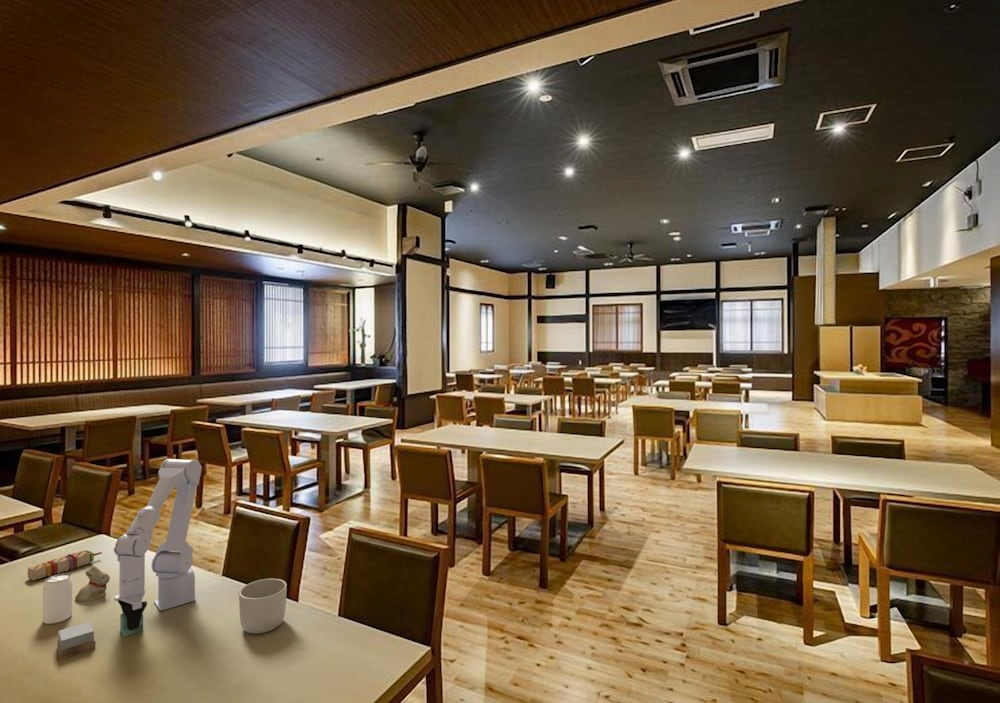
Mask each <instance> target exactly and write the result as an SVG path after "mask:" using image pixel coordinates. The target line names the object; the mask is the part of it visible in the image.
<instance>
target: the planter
mask: <svg viewBox="0 0 1000 703" xmlns="http://www.w3.org/2000/svg"><path fill="white" fill-rule="evenodd" d="M287 585H288V584H287V582H286V581H285V580H283V579H281V578H264V579H258V580H255V581H252V582H249V583H247V584H246V585H244V586H243V587H241V588H240V590H239V591H238V596H239V599H238V600H239V601H238V602H239V603H238V606H239V621H240V626H241V628H242V630H243V631H245V632H246V633H247V634H248V633H249V634H254V635H256V634H257V635H258V634H259V635H260V634H264V633H268V632H271V631H272V630H275V629H276V628H277V627H279V626H280V625H281V624H282V623H283V621H284V619H285V614H286V609H287V590H288V589H287V588H288V587H287Z"/></svg>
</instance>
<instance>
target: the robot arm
mask: <svg viewBox="0 0 1000 703" xmlns="http://www.w3.org/2000/svg"><path fill="white" fill-rule="evenodd" d="M202 468H203V466H202V465H201V462H200V461H199V460H198V459H196V458H195V459H180V458H179V459H175V458H167V459H165V460H164V461H163V462H162V463H161V465H160V468H159V470H158V471H157V474H158V478H159V480H158V481H157V483H156V485H155V488H154V490H153V492H152V493H151V494H152V495H151V497H150V498H149V501H148V503H147V505H146V506H145V507H142V508H141V509H139V511H138V512H137V513H136V516H135V518H134V519H133V521H132V522H131V524H130V526H129V528H128V530H127V531H126V533H124V534H123V535H121V536H119V537H118V539H117V540H116V543H115V546H114V547H113V553H114V554H115V555H116V556H117V558H116V559H117V562H118V563H119V588H118V589H119V592H118V593H119V594H117V595H114V596H113V600H114V601H115V602H117V603H118V604H119V605H120V607H121V612H122V614H123V613H125V616H126V619H127V625H128V629H129V631H131V630H134V629H137V628H138V627H139V624H140V620H141V616H142V613H143V614H144V611H145V609H146V608H147V605H148V602H147V601H146V600H144V601H143V599H144V596H145V595H146V589H145V586H146V585H145V580H146V577H145V575H146V574H145V573H146V572H145V571H146V570H145V568H146V567H145V563H146V559H145V558H146V555H145V554H146V553H147V551H148V550H149V549H150V546H151V541H152V537H153V534H152V533H153V532H154V530H155V527H156V526H157V524H158V522H159V520H160V518H161V515H162V514H161V512H160V510H161V508H162V507H163V505H164V504H165V502H166V501H167V499H168V498H169V497H170V495H171V493H172V491H173V489H175V490H176V493H175V498H174V503H173V508H172V511H171V517H170V520H169V521H170V522H169V526H168V527H169V528H168V532H167V536H166V540H165V542H164V543H162V544H160V545H159V546H158V547H157V548H156V553H155V555H154V557H153V558H152V561H151V570H152V572H153V573H155V576H156V577H158V578H157V579H158V583H157V584H158V588H157V590H158V591H157V592H158V593H157V599H154V601H153V602H154V603H155V604H154V605H155V606H156V607H157V608H158V610H159V612H161V611H165V610H169V609H171V608H175V607H179V606H181V605H184V604H188V603H190V602H191V603H192V602H195V601H196V597H195V596H196V577H195V576H196V575H195V572H194V570H193V568H192V565H193V562H194V558H193V550H194V548H193V547H192V545H190V544H189V543H188V542H187V536H188V533H189V532H188V531H189V528H190V521H191V518H192V513H193V512H192V511H193V507H194V502H195V496H196V492H197V488H198V486H199V484H200V478H201V475H202Z"/></svg>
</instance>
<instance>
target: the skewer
mask: <svg viewBox="0 0 1000 703" xmlns="http://www.w3.org/2000/svg"><path fill="white" fill-rule="evenodd" d="M101 554H103V553H102V551H99V552H96V553H94V552H92V551H90V550H88V549H87V550H86V549H84V550H81V551H77V552H74V553H73V552H72V553H70V554H69V553H68V554H67V555H64V556H61V557H58V558H53V559H50V560H48V561H47V562H42V563H41V564H37V565H35V566H31V567H28V568H27V579H29V580H31V581H37V579H38V580H40V578H41V579H43V577H44V578H46V577H47V576H49V577H51V576H53V575H52V574H55V575H57V574H56V573H58V574H61V573H60V572H62V573H64V572H63V571H66V570H68V571H69V570H70V569H71V571H72V570H74V569H73V568H75V569H76V567H78V568H80V567H79V566H82V565H84V566H86V565H85V564H87V565H89V564H91V563H90V562H93V563H94V560H95V556H98V555H101ZM88 563H89V564H88ZM82 567H83V566H82ZM66 572H67V571H66Z"/></svg>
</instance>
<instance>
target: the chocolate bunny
mask: <svg viewBox="0 0 1000 703" xmlns="http://www.w3.org/2000/svg"><path fill="white" fill-rule="evenodd" d="M84 573H85V576H87V578H88V579H89V581H88V583H87V584H85V585H84V586H82V587H81V588H80V589H79V590H78V592H77V594H76V595H75V598H74V600H75V601H78V602H88V601H89V602H90V601H94V599H95V600H97V599H101V598H104V597H106V595H107V592H106V591H107V584H108V583H109V581H110V580H111V579H110V575H109V574H108V573H107V572H103V571H101V570H100V568H98V567H97V566H95V565H92V566H91V567H90V568H89V569H87V570H86V571H85V572H84ZM103 596H104V597H103Z"/></svg>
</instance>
